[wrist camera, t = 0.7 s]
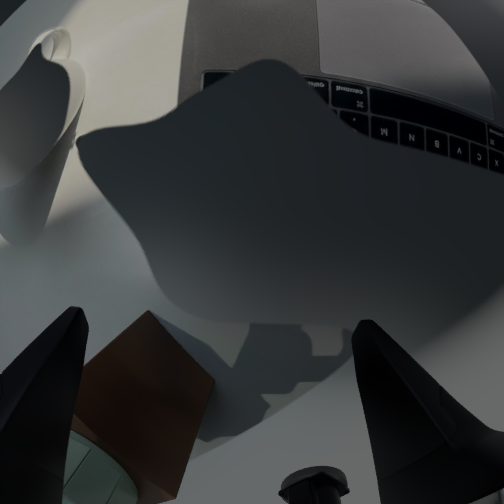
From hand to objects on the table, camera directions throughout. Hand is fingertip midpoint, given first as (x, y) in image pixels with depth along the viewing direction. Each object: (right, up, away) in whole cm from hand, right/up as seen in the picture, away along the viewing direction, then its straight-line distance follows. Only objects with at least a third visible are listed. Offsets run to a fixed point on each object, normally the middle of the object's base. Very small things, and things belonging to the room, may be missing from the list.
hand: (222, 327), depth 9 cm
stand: (-7, -7, +13) cm, 17 cm away
